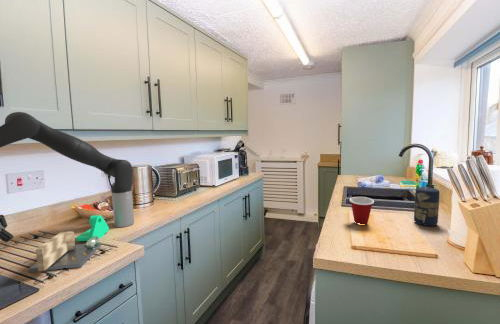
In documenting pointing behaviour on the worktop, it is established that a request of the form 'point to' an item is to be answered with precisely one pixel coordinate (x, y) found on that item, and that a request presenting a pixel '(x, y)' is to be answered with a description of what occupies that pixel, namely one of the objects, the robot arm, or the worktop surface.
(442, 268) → the worktop surface
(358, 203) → the plastic cup
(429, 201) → the canister
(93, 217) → the camera mount
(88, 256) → the levelling base
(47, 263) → the zigzag patterned block
